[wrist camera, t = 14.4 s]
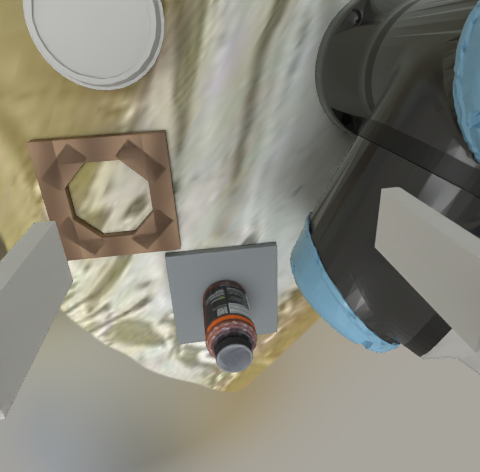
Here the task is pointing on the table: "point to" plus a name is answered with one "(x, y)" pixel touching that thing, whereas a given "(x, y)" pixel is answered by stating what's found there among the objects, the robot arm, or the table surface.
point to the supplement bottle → (229, 326)
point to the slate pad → (217, 270)
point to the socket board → (106, 149)
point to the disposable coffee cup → (97, 38)
